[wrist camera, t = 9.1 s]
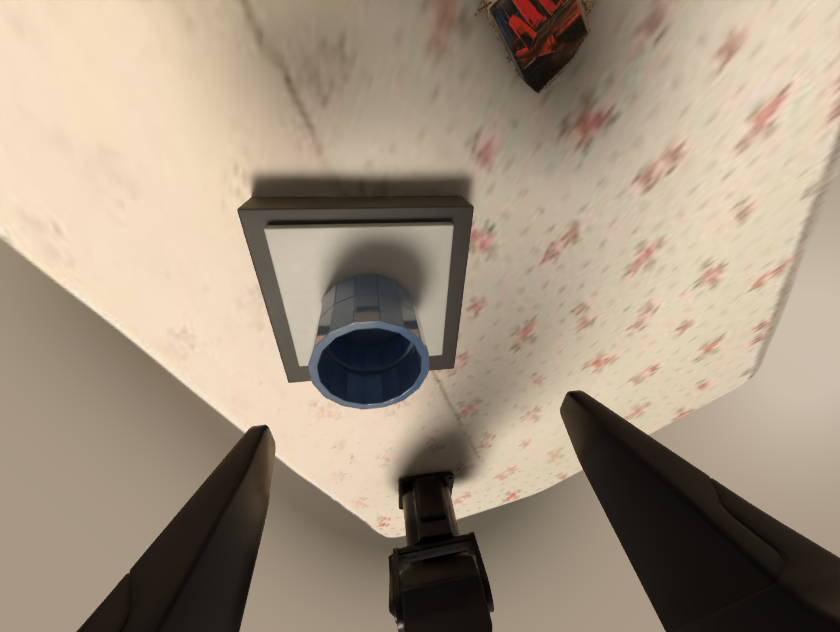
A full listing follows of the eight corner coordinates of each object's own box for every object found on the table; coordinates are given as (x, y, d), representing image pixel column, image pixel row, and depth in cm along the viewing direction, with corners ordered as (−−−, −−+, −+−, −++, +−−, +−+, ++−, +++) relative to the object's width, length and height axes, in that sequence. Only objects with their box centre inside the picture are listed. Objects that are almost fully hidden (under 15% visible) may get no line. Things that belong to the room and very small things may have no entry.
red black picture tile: (541, 101, 16) (545, 101, 16) (467, 26, 14) (470, 24, 14) (611, -1, 14) (617, -4, 14) (537, -103, 12) (543, -110, 12)
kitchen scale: (447, 348, 25) (456, 374, 23) (294, 360, 24) (286, 389, 21) (462, 195, 19) (477, 209, 16) (250, 197, 17) (231, 212, 15)
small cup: (414, 344, 21) (426, 403, 17) (328, 350, 20) (319, 414, 16) (416, 267, 18) (432, 317, 14) (313, 271, 17) (298, 325, 13)
